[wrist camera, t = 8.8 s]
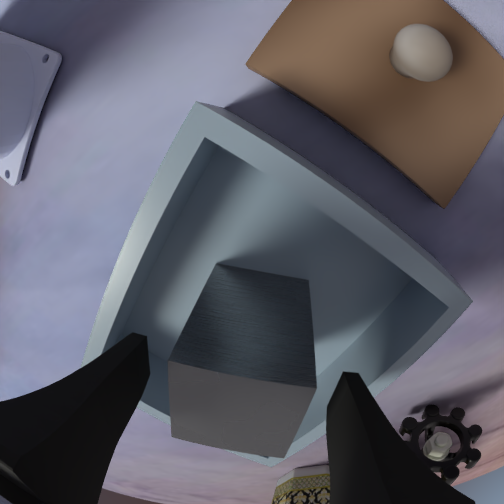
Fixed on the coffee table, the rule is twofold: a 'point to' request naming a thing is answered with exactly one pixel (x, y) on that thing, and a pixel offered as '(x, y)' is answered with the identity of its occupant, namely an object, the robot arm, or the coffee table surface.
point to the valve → (442, 441)
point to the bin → (272, 262)
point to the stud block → (393, 81)
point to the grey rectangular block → (244, 363)
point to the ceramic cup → (304, 486)
